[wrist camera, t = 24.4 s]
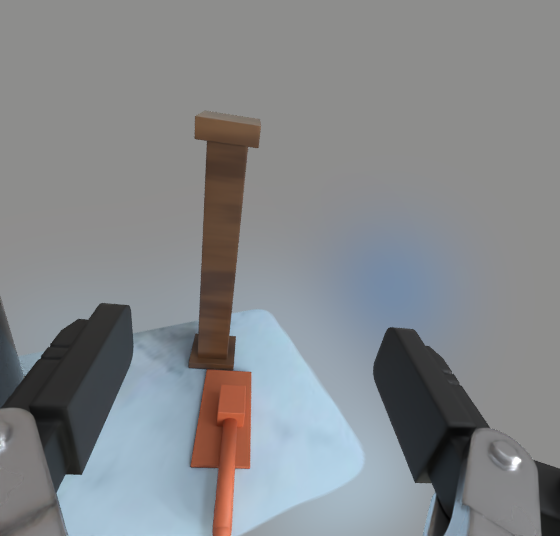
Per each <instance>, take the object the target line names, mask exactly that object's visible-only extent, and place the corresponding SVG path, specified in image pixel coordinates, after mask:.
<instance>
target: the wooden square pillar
mask: <svg viewBox="0 0 560 536" xmlns="http://www.w3.org/2000/svg"><path fill="white" fill-rule="evenodd" d="M260 130H261V124H260V119H255V118H249V117H242V116H236V115H229V114H223V113H217V112H210V111H203V112H202V113H200V114H198V115H197V116H195V139H198V140H205V141H207V154H206V176H205V198H204V221H203V245H202V266H201V288H200V311H199V313H200V314H199V334H195V338H194V342H193V346H192V351H191V355H190V359H189V368H200V369H217V370H233V367H234V354H235V341H236V336H229V333H230V323H231V313H232V303H233V302H232V301H233V292H234V283H235V273H236V263H237V252H238V243H239V233H240V223H241V212H242V203H243V192H244V181H245V172H246V162H247V152H248V147H253V148H258V147H259V139H260Z"/></svg>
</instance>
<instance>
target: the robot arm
mask: <svg viewBox="0 0 560 536" xmlns="http://www.w3.org/2000/svg"><path fill="white" fill-rule="evenodd" d="M132 356H133V332H132V319H131V309H130V306H129V305H118V304H106V303H101V304H99V306H98V307H97V308H96V310H95V312H94V313H93V314H92V315H91V317H90V318H89V320H85V319H78V320H76V321H75V322H73V323H72V324H70V325H69V326H67V327H66V328H64V329H63V330H61V332H60V333H59V334H58V335H57V336H56V338H55V339H54V340H53V342H52V343H51V344H50V347H48V348H47V349H46V351H45V352H44V353H43V354H42V356H41V359H39V360H38V361H37V362H36V363H35V365H34V366H33V367H32V369H31V370H30V371H29V372H28V374H27V375H26V376H23V373H22V369H21V366H20V362H19V359H18V355H17V352H16V349H15V345H14V342H13V339H12V335H11V332H10V328H9V325H8V321H7V318H6V314H5V311H4V307H3V304H2V300H1V297H0V536H68V533H67V530H66V526H65V523H64V519H63V515H62V512H61V508H60V505H59V501H58V497H57V494H56V493H57V490H58V488H59V486H60V484H61V482H62V480H63V478H64V476H65V474H73V475H82V473H83V471H84V468H85V466H86V464H87V462H88V459H89V457H90V455H91V453H92V450H93V448H94V446H95V444H96V441H97V439H98V437H99V435H100V432H101V430H102V428H103V425H104V423H105V421H106V419H107V416H108V414H109V412H110V410H111V407H112V405H113V403H114V401H115V398H116V396H117V394H118V391H119V389H120V387H121V385H122V382H123V380H124V378H125V376H126V373H127V371H128V369H129V366H130V364H131V360H132ZM373 375H374V380H375V383H376V386H377V388H378V391H379V393H380V396H381V398H382V401H383V403H384V406H385V408H386V411H387V413H388V416H389V418H390V421H391V424H392V426H393V428H394V431H395V434H396V436H397V439H398V441H399V444H400V446H401V449H402V451H403V454H404V456H405V458H406V461H407V464H408V466H409V469H410V471H411V474H412V476H413V479H414V481H415V483H432V485H433V487H434V489H435V493H434V495H433V496H432V499H431V503H430V507H429V512H428V516H427V520H426V525H425V528H424V532H423V536H560V469H559V468H556V467H553V466H550V465H547V464H544V463H541V462H538V461H535V460H533V459H532V457H531V456H530V454H529V453H528V452H527V451H526V450H525V449H524V448H523V447H522V446H521V445H520V444H519V443H518V442H517V441H515V440H514V439H513V438H511V437H510V436H508V435H506V434H504V433H502V432H500V431H498V430H495V429H491V428H490V427H489V426H488V424H487V423H486V421H485V420H484V418H483V417H482V415H481V414H480V412H479V411H478V409H477V408H476V406H475V405H474V404H473V402H472V401H471V399H470V398H469V396H468V395H467V393H466V392H465V390H464V389H463V387H462V386H460V385H459V381H458V380H457V378H456V377H455V375H454V374H452V371H451V370H450V368H449V367H448V365H447V364H446V362H445V361H444V359H443V358H442V357H441V356H440V355H439V354H437V353H436V352H435V351H434V350H433V349H432V348H430V347H429V346H425V345H424V343H423V342H422V340H421V339H420V337H419V335H418V334H417V332H416V331H415V330H413V329H405V328H393V327H392V328H391V327H390V328H388V329H387V331H386V333H385V335H384V338H383V341H382V343H381V346H380V349H379V351H378V354H377V357H376V359H375V362H374V367H373Z"/></svg>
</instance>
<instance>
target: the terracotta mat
mask: <svg viewBox="0 0 560 536" xmlns="http://www.w3.org/2000/svg"><path fill="white" fill-rule="evenodd" d="M221 384H223V385H241V386H246V395H245V416H244V423H243V427H237V438H236V456H235V468H244V469H250V432H251V372H243V371H226V370H210V369H207V371H206V377H205V383H204V389H203V395H202V401H201V407H200V413H199V419H198V425H197V431H196V437H195V443H194V449H193V454H192V460H191V467H202V468H219V459H220V448H221V438H222V428H223V427H218V426H216V424H217V414H218V405H219V396H220V387H221Z"/></svg>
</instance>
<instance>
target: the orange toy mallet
mask: <svg viewBox="0 0 560 536" xmlns="http://www.w3.org/2000/svg"><path fill="white" fill-rule="evenodd" d="M245 395H246V386H241V385H223V384H221V387H220V396H219V405H218V414H217V424H216V426H218V427H223V428H222V438H221V448H220V459H219V469H218V479H217V490H216V500H215V510H214V520H213V531H212V534H213V536H230V535H231V529H232V511H233V492H234V474H235V456H236V438H237V427H243V423H244V416H245Z"/></svg>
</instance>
